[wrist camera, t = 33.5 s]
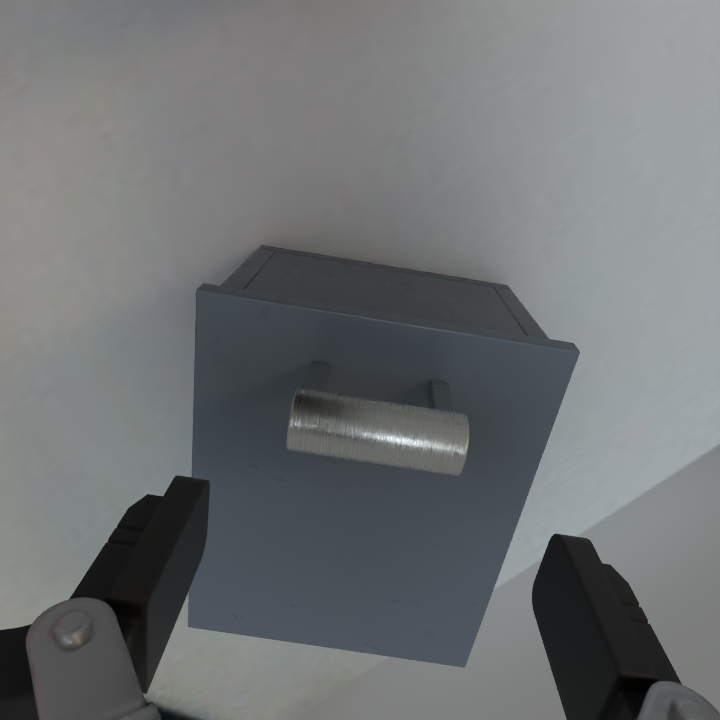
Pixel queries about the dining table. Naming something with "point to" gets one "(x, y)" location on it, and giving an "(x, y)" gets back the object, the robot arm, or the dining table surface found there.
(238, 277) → the grey storage box
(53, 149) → the dining table surface
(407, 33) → the dining table surface
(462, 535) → the grey box lid
